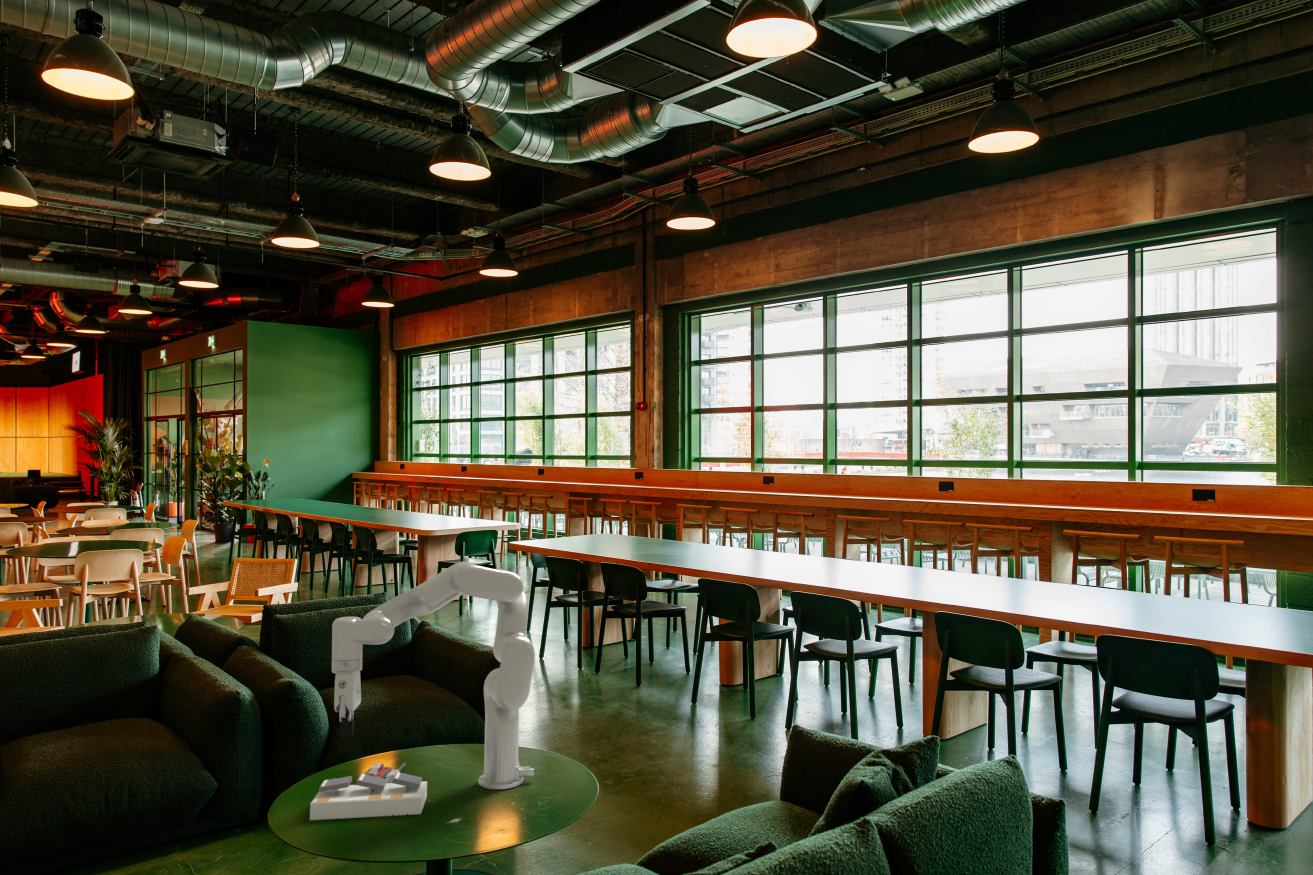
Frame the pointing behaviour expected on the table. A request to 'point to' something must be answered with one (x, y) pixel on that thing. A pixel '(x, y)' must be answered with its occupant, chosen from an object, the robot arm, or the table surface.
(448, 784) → the table surface
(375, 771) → the walkie-talkie
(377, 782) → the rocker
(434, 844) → the table surface
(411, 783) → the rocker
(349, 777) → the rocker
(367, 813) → the switch unit
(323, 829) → the table surface
